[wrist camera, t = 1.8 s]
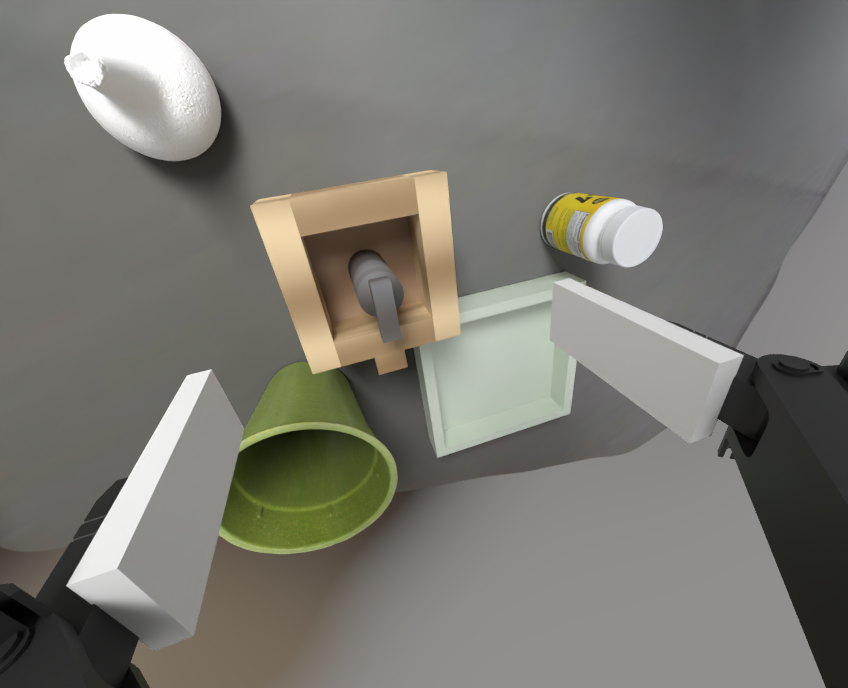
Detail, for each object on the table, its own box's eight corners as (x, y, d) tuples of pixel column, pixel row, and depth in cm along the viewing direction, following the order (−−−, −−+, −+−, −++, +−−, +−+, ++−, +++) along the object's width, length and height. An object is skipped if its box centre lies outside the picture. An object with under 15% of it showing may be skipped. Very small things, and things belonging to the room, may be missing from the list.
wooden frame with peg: (258, 199, 19) (250, 206, 16) (429, 170, 20) (446, 172, 18) (318, 367, 24) (319, 391, 22) (447, 333, 26) (462, 351, 24)
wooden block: (287, 204, 24) (272, 237, 14) (398, 185, 25) (453, 202, 15) (320, 308, 28) (326, 388, 18) (414, 286, 29) (465, 350, 20)
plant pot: (263, 314, 27) (237, 401, 17) (394, 360, 32) (428, 446, 23) (216, 427, 30) (173, 552, 21) (341, 452, 35) (353, 559, 26)
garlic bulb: (209, 36, 19) (145, -59, 12) (238, 161, 22) (200, 143, 15) (74, 29, 18) (-87, -85, 11) (123, 164, 20) (19, 145, 13)
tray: (406, 310, 30) (415, 324, 27) (565, 271, 33) (586, 280, 30) (429, 438, 38) (437, 457, 36) (554, 397, 41) (570, 413, 38)
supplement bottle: (593, 196, 30) (680, 208, 23) (574, 249, 32) (649, 276, 25) (548, 187, 28) (627, 197, 21) (531, 244, 30) (598, 270, 23)
